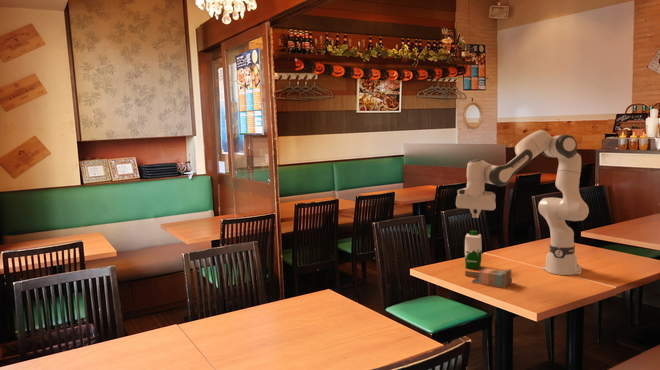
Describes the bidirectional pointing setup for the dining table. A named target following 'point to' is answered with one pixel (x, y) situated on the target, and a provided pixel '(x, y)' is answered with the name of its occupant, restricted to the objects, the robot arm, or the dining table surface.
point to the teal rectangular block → (498, 279)
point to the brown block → (492, 277)
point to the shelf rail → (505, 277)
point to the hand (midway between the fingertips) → (475, 217)
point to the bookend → (478, 279)
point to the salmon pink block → (485, 276)
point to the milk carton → (473, 250)
